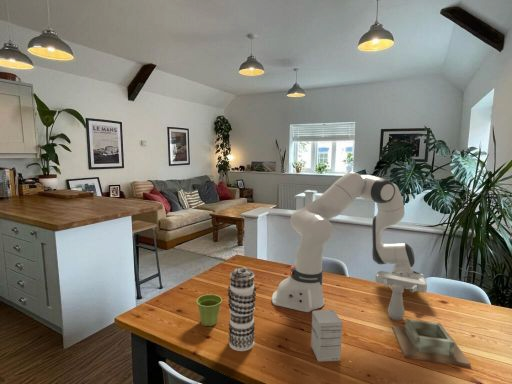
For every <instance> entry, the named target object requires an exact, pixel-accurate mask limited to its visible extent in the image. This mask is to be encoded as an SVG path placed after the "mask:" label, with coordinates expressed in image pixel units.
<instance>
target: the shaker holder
mask: <svg viewBox="0 0 512 384" xmlns="http://www.w3.org/2000/svg"><path fill="white" fill-rule="evenodd" d="M391 329H392V331H393V335H394V336H395V338H396V341H397V343H398V345H399V348H400V350H401V352H402V355H403V357H404V358H406V359H412V360H413V359H414V360H421V361H427V362H435V363H440V364H441V363H442V364H447V365H453V366H454V365H455V366H461V367H468V368H471V366H472V364H471V362H470V360H469V359H468V358H467V356H465V354H464V353H463V351H462V349H460V347H459V346H458V344H457V343H456V342H455V340H454V339H453V337H451V335H450V334H449V332H448V331H447V330H446V329H445V328H444V326H443V325H442V323H441V322H435V321H433V322H432V321H427V320H426V321H424V320H416V319H407V318H406V319H405V326H398V325H392V328H391Z"/></svg>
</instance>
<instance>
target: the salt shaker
mask: <svg viewBox="0 0 512 384" xmlns="http://www.w3.org/2000/svg"><path fill="white" fill-rule="evenodd" d="M390 290H391V292H392V294H391V297H390V300H389V305H388V307H387V312H388V315H389V318H390V319H391V320H393V321H401V320H402V319H403V317H404V315H405V306H404V300H403V293H404V291H405V289H404V288H403V287H402V286H401V285H398V284H394V285H392V286H390Z"/></svg>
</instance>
